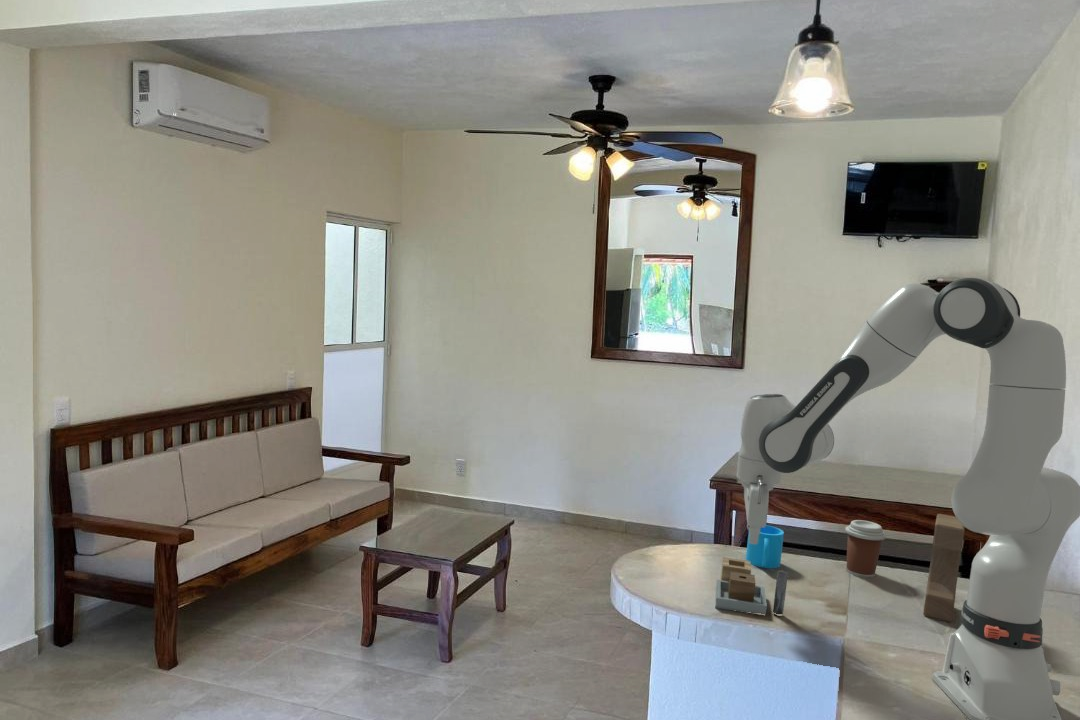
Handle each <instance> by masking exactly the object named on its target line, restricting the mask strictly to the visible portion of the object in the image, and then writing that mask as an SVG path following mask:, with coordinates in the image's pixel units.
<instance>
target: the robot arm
mask: <svg viewBox="0 0 1080 720" xmlns="http://www.w3.org/2000/svg"><path fill="white" fill-rule="evenodd" d="M943 335H947V336H948V337H950V338H952V339H953V340H956V341H959V342H962V343H966V344H968V345H971V346H974V347H978V348H980V349H985V350H986V351H987V353H988V356H989V358H990V373H989V374H990V375H989V385H988V397H987V408H986V409H987V410H986V418H985V426H984V432H983V436H982V437H981V441H980V444H979V447H978V450H977V452H976V454H975V457H974V459H973V461H972V464H970V467H969V469H968V470H967V472H966V473H965V474H964V476H962V477H961V478H960V479H959V480H958V482H957V483H956V484H955V485H954V487H953V490H952V493H951V497H950V498H951V499H950V500H951V501H950V503H951V507H952V509H951V510H952V511H953V513H954V515H955V517H956V518H957V519H958V521H959V522H960V523H961V524H962V525H963V526H964V527H965V528H966V529H967V530H969V531H971V532H973V533H977V534H982V535H987V536H989V537H988V540H987V541H986V543H985V544H984V546H983V547H982V548H981V549H980V550H979V551H978V552H977V553H976V555H975V556H974V557H973V559H972V562H971V568H970V575H969V584H968V589H967V596H966V597H967V598H966V600H964V602H963V606H962V608H961V611H960V613H961V618H960V623H961V625H960V626H959V627H958V629H957V630H955V631H954V632H952V633H951V634H950V635H949V638H948V642H947V646H946V650H945V657H944V660H943V661H944V662H943V666H942V670H936V671H934V672H933V674H932V677H931V679H932V680H933V681H934V682H935V684H936V685H938V686H939V688H940V689H941V690H942V691H943V692H944V693H945V694H946V695H947V697H949V699H950V700H951V701H952V702H953V703H954V705H956V707H958V708H959V709H960V711H962V713H963V714H964V715H965V716H966V717H967V718H968V719H969V720H1062V717H1061V715H1060V712H1059V709H1058V707H1057V704H1056V701H1055V699H1054V696H1060V693H1061V682H1060V681H1059V680H1056V679H1052V678H1050V673H1051V672H1052V664H1051V663H1047V661H1046V659H1045V658H1046V657H1045V653H1044V648H1043V647H1042V646H1043V635H1044V629H1043V628H1044V627H1043V620H1042V618H1041V615H1042V614H1041V613H1042V607H1043V601H1044V596H1045V595H1044V594H1045V589H1046V585H1047V579H1048V575H1049V572H1050V569H1051V567H1052V564H1053V561H1054V559H1055V558H1056V555H1057V553H1058V552H1059V551H1058V550H1059V548H1060V546H1061V544H1062V542H1063V539H1065V538H1064V537H1065V536H1066V534H1067V531H1068V530H1069V528H1070V527H1071V526H1072V525H1073V524H1074V523H1075V521H1077V520H1078V519H1079V517H1080V484H1079V483H1078V482H1077V481H1076V479H1075V478H1074V477H1072V476H1070V475H1069V474H1067V473H1065V472H1062V471H1060V470H1056V469H1052V468H1049V467H1048V468H1047V467H1044V465H1045V463H1046V460H1047V458H1048V455H1049V453H1050V452H1051V450H1052V448H1053V447H1054V446H1055V445H1056V444H1057V443H1058V442H1059V440H1060V439H1061V437H1062V435H1063V427H1064V414H1065V413H1064V412H1065V402H1066V387H1067V386H1066V384H1067V365H1066V363H1067V361H1066V351H1065V350H1066V349H1065V345H1064V339H1063V336H1062V334H1061V332H1060V330H1059V329H1058V328H1056V327H1055V326H1054V325H1052V324H1050V323H1046V322H1043V321H1041V320H1035V319H1034V320H1033V319H1025V318H1022V317H1021V307H1020V303H1019V302H1018V300H1017V298H1016V296H1014V294H1013V293H1012V292H1011V291H1009V290H1008V289H1006V288H1004V287H1003V286H1002V285H1000V284H998V283H996V282H994V281H991V280H988V279H981V278H977V277H964V278H960V279H957V280H954V281H951V282H950V283H949V284H947V285H946V286H945V287H943V288H942V289H941V290H940V291H936V290H935V289H933V288H932V287H931V286H928V285H926V284H921V283H913V282H911V283H906V284H905V285H902V286H901V287H899V289H897V290H896V291H894V293H893V294H892V295H890V296H889V297H888V298H887V299H886V300H885V301H884V302H883V303H881V305H879V307H877V308H876V310H875V311H874V312H873V313H872V314H871V315H870V316H869V318H868V319H866V321H865V322H864V324H863V325H862V326H861V327H860V329H859V330H858V331H857V332H856V334H855V335H854V336H853V338H852V339H851V340H850V342H849V343H848V345H847V346H846V347H845V348H844V349H843V351H842V353H841V354H840V355H839V356H838V358H837V359H836V361H835V362H834V363H833V365H832V366H831V367H830V368H829V370H828V371H827V372H826V373H825V374H824V375H823V377H821V378H820V379H819V381H818V382H817V383H816V384H815V385H814V386H813V387H812V388H811V389H810V390H809V392H807V394H806V395H805V396H804V397H802V399H801V400H800V402H799V403H797V405H794V404H793V403H792V402H791V401H790V400H789V399H788V398H787V397H786V396H785V395H783V394H780V393H779V394H778V393H768V394H767V393H766V394H757V395H754V396H751V397H750V398H749V399H748V400H747V401H746V403H745V406H744V411H743V415H742V419H741V420H742V421H741V429H740V439H741V445H740V448H739V451H738V455H737V456H738V458H737V466H736V478H737V479H739V480H741V487H743V497H744V498H743V500H744V505H745V513H746V514H745V516H746V523H747V525H746V529H747V531H748V534H749V543H750V544H758V538H759V534H760V530H761V527H762V528H764V527H765V526H766V525H767V523H768V522H767V520H768V512H769V501H770V500H769V499H770V498H769V497H770V494H769V492H770V491H773V490H774V485H779V484H780V483H781V480H782V473H783V474H790V473H791V474H792V473H794V472H797V471H799V470H801V469H802V468H804V467H807V466H810V465H813V464H815V463H819V462H821V461H822V460H824V459H826V458H827V457H828V456H830V454H831V453H832V451H833V449H834V446H835V445H834V444H835V436H834V432H833V429H832V427H831V426H830V425H829V423H830V422H832V420H834V418H835V417H836V416H837V415H838V414H839V412H840V411H842V410H843V409H844V407H845V406H847V405H848V404H849V403H850V402H851V401H852V400H854V399H856V398H857V397H858V396H860V395H863V394H864V393H866V392H868V391H870V390H873V389H876V388H879V387H880V386H883V385H886V384H888V383H891V382H892V381H893V380H894V379H896V378H898V376H900V374H902V373H904V372H905V371H906V369H908V368H909V367H910V366H911V365H912V364H913V363H914V361H915V360H917V358H918V357H919V356H920V355H921V354H922V352H923V351H924V350H925V349H926V348H927V347H928V346H929V345H930V343H932V342H933V341H934V340H936V339H937V338H938V337H940V336H943ZM749 531H750V532H749Z"/></svg>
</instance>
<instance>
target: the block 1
mask: <svg viewBox="0 0 1080 720" xmlns="http://www.w3.org/2000/svg"><path fill="white" fill-rule="evenodd" d="M751 565H752V564H751V563H750V561H746V559H744V560H743V559H738V558H730V557H725V556H723V557H722V563H721V575H720V580H723V581H730V572H738V573H744V574H751V575H752V566H751Z"/></svg>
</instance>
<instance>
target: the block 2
mask: <svg viewBox="0 0 1080 720" xmlns="http://www.w3.org/2000/svg"><path fill="white" fill-rule="evenodd" d="M755 575H756V574H752V573H751V574H744V573H738V572H730V581H729V590H728V598H729V599H735V600H742V601H748V602H753V601H754V592H755V586H756V576H755Z"/></svg>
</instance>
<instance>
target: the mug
mask: <svg viewBox="0 0 1080 720" xmlns="http://www.w3.org/2000/svg"><path fill="white" fill-rule="evenodd" d="M749 532H750V531H749V530H748V536H747V545H746V552H745V553H746V554H745V560H746V561H750V563H751V565H752V566H755V567H758V568H763V569H764V568H765V569H777V567H778V568H780V567H781V562H782V553H783V545H784V544H783V543H784V535H785V532H784V530H783V529H781V528H778V527H776V526H771V525H767V524H766V526H765V527H764V528H762V527H761V530H760V534H759V538H758V544H750V543H749Z"/></svg>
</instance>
